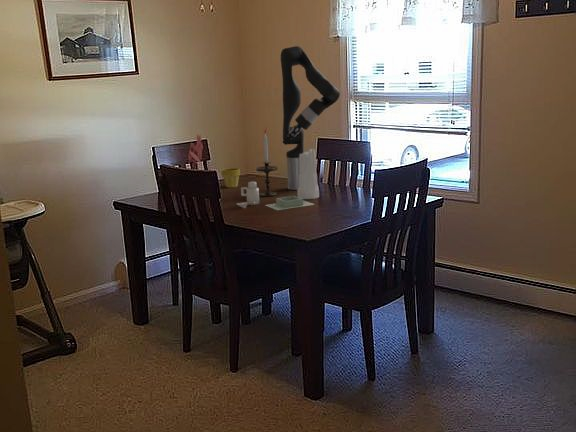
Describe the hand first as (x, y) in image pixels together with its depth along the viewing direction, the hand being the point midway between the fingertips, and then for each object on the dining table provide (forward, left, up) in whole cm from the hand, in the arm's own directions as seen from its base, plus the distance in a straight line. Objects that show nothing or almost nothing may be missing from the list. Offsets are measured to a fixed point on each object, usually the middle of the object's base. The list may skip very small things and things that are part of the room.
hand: (284, 142), depth 334 cm
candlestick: (+3, -16, -29) cm, 33 cm away
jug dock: (+6, +15, -29) cm, 33 cm away
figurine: (+39, -13, -29) cm, 50 cm away
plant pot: (+9, -52, -29) cm, 60 cm away
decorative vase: (-10, +4, -29) cm, 31 cm away
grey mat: (+19, +1, -29) cm, 34 cm away
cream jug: (+20, 0, -28) cm, 34 cm away
